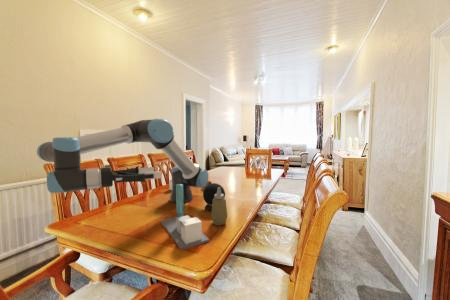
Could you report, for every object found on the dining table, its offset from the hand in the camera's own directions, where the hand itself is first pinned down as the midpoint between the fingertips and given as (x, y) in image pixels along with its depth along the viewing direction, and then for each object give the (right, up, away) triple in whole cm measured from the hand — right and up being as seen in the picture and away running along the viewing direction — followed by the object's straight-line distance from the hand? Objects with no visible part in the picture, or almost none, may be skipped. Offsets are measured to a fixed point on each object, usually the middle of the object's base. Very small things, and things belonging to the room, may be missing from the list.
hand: (157, 172), depth 90 cm
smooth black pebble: (+23, -25, +34) cm, 48 cm away
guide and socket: (+10, -27, +4) cm, 30 cm away
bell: (+16, -23, +76) cm, 81 cm away
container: (-10, -22, +78) cm, 82 cm away
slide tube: (+12, -26, +2) cm, 29 cm away
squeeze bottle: (+27, -27, +13) cm, 40 cm away
